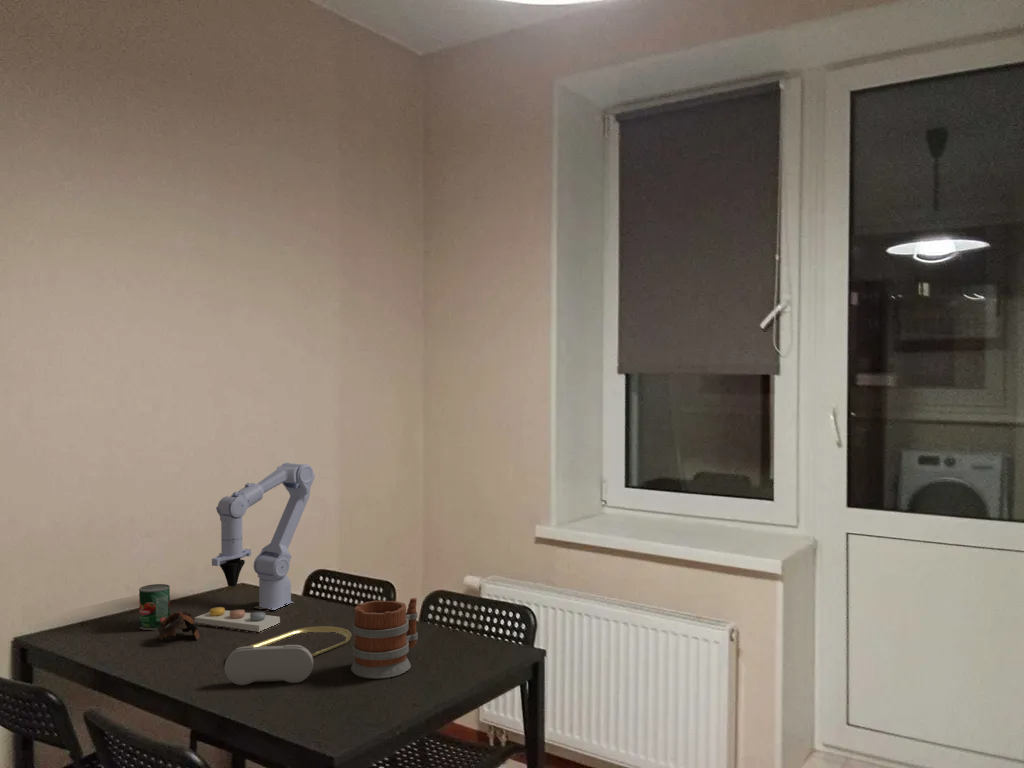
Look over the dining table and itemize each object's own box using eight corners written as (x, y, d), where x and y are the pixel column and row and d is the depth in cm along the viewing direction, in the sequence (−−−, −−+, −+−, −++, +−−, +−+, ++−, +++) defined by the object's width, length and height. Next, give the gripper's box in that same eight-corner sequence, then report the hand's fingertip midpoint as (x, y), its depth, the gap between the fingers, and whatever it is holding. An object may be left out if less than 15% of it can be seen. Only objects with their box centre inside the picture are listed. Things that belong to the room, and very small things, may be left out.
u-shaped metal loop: (211, 665, 204) (210, 659, 204) (314, 628, 234) (314, 622, 234) (265, 679, 195) (265, 672, 195) (366, 638, 225) (366, 632, 225)
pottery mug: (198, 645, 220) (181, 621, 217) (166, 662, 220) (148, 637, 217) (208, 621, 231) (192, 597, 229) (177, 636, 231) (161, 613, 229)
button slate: (256, 615, 237) (256, 611, 237) (268, 617, 235) (268, 612, 235) (247, 619, 233) (247, 615, 233) (259, 620, 232) (258, 616, 232)
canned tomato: (175, 623, 238) (175, 584, 238) (161, 631, 231) (160, 591, 230) (148, 622, 239) (148, 583, 239) (133, 630, 231) (133, 590, 231)
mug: (338, 671, 198) (337, 608, 198) (395, 650, 214) (394, 590, 214) (381, 684, 190) (380, 617, 190) (437, 660, 206) (437, 599, 206)
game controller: (313, 679, 194) (313, 643, 194) (312, 682, 192) (312, 646, 192) (226, 682, 192) (226, 646, 192) (224, 686, 190) (224, 649, 190)
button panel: (216, 616, 245) (216, 609, 245) (279, 623, 237) (279, 616, 237) (194, 624, 237) (194, 617, 237) (259, 632, 229) (259, 625, 229)
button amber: (216, 610, 242) (216, 606, 242) (227, 612, 241) (227, 607, 241) (206, 614, 238) (206, 610, 238) (218, 615, 237) (217, 611, 237)
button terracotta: (236, 613, 239) (236, 608, 239) (247, 614, 238) (247, 610, 238) (226, 616, 236) (226, 612, 236) (238, 618, 234) (238, 614, 234)
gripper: (237, 533, 250) (237, 579, 251) (202, 542, 237) (203, 590, 237) (256, 534, 248) (257, 581, 248) (223, 544, 234) (223, 592, 235)
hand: (232, 585), depth 242 cm, fingers closed
